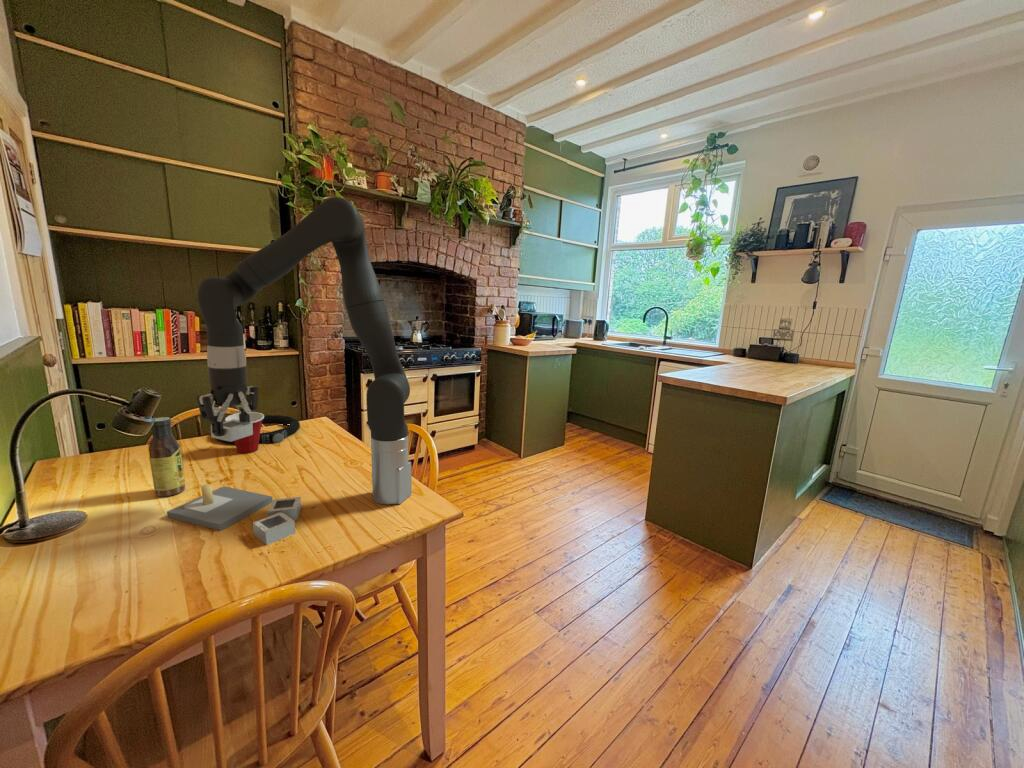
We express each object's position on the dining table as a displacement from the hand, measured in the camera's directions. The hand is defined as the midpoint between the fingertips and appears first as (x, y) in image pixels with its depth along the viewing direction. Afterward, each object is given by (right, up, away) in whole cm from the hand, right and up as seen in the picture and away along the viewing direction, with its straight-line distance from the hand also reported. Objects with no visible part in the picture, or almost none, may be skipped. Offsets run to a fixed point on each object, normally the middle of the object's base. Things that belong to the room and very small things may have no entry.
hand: (232, 431), depth 100 cm
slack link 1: (+14, -20, -2) cm, 24 cm away
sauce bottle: (-21, -17, +7) cm, 28 cm away
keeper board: (-2, -19, 0) cm, 19 cm away
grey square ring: (0, -1, 0) cm, 1 cm away
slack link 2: (+16, -22, -9) cm, 28 cm away
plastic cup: (-20, -11, +36) cm, 43 cm away
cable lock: (-26, -7, +53) cm, 60 cm away
